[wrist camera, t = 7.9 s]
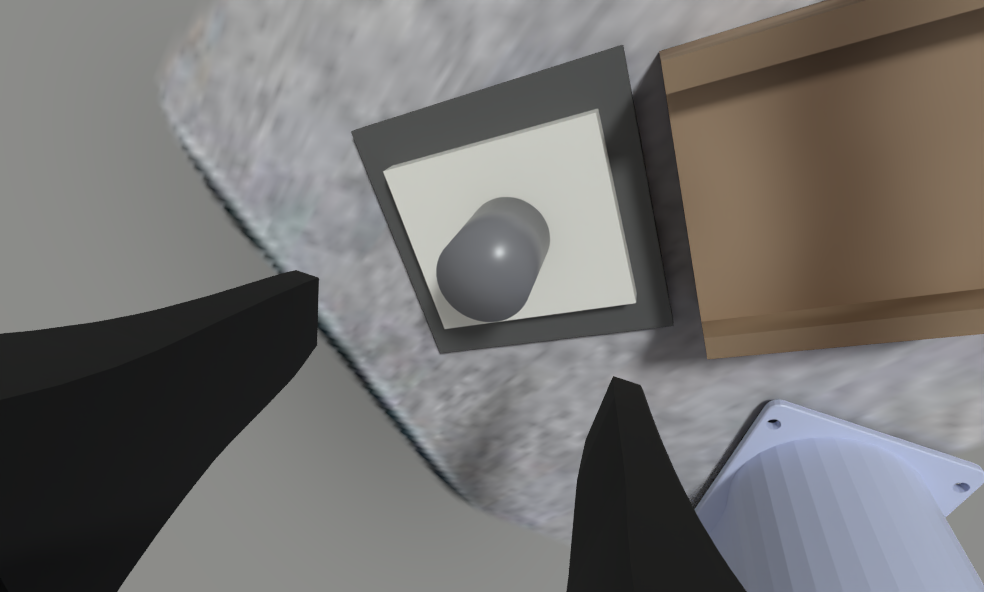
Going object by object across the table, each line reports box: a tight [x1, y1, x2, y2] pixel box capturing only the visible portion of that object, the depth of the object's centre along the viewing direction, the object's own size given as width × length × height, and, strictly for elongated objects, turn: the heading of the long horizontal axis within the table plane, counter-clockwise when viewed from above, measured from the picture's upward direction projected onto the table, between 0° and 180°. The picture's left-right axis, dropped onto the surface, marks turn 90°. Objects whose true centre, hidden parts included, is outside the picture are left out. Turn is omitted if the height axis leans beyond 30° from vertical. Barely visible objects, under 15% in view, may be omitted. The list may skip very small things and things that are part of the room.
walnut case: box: [659, 0, 984, 359], centre depth 14 cm, size 9×9×4 cm
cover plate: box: [383, 109, 637, 329], centre depth 18 cm, size 8×7×4 cm
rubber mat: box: [351, 45, 673, 353], centre depth 20 cm, size 10×10×1 cm
